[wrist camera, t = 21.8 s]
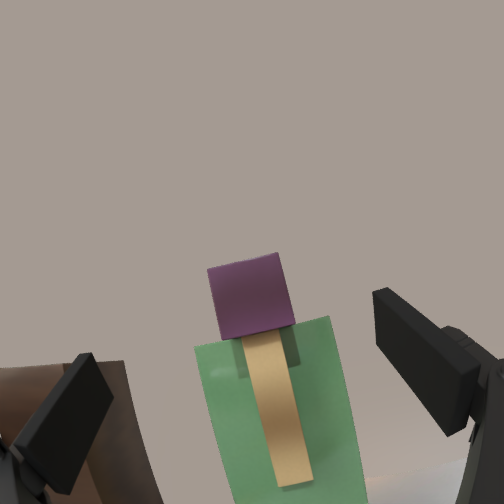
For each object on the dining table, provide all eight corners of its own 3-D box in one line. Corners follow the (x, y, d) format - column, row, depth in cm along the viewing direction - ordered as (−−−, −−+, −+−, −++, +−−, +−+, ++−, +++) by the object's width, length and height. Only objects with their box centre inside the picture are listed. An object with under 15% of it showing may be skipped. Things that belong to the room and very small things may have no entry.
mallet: (218, 280, 24) (206, 268, 19) (277, 266, 24) (278, 251, 19) (264, 470, 20) (262, 497, 15) (322, 458, 20) (331, 482, 15)
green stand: (281, 571, 22) (218, 345, 31) (360, 553, 22) (313, 323, 31) (280, 619, 13) (193, 346, 22) (378, 598, 13) (329, 315, 22)
